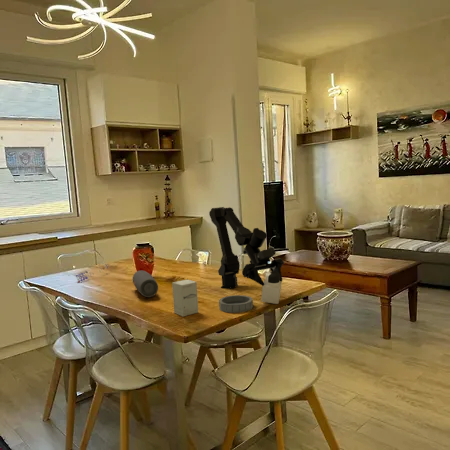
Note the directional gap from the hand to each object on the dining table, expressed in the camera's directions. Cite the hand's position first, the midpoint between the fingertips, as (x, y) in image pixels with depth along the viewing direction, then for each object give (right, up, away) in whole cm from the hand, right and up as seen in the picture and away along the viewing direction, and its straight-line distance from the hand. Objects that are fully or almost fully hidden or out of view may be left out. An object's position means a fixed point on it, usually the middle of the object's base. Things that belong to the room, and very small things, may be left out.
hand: (272, 283), depth 177 cm
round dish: (-15, -10, -2) cm, 18 cm away
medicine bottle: (-1, -7, +3) cm, 8 cm away
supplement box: (-35, -11, -5) cm, 37 cm away
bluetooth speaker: (-58, -9, +28) cm, 64 cm away
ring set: (-94, -7, +69) cm, 117 cm away
